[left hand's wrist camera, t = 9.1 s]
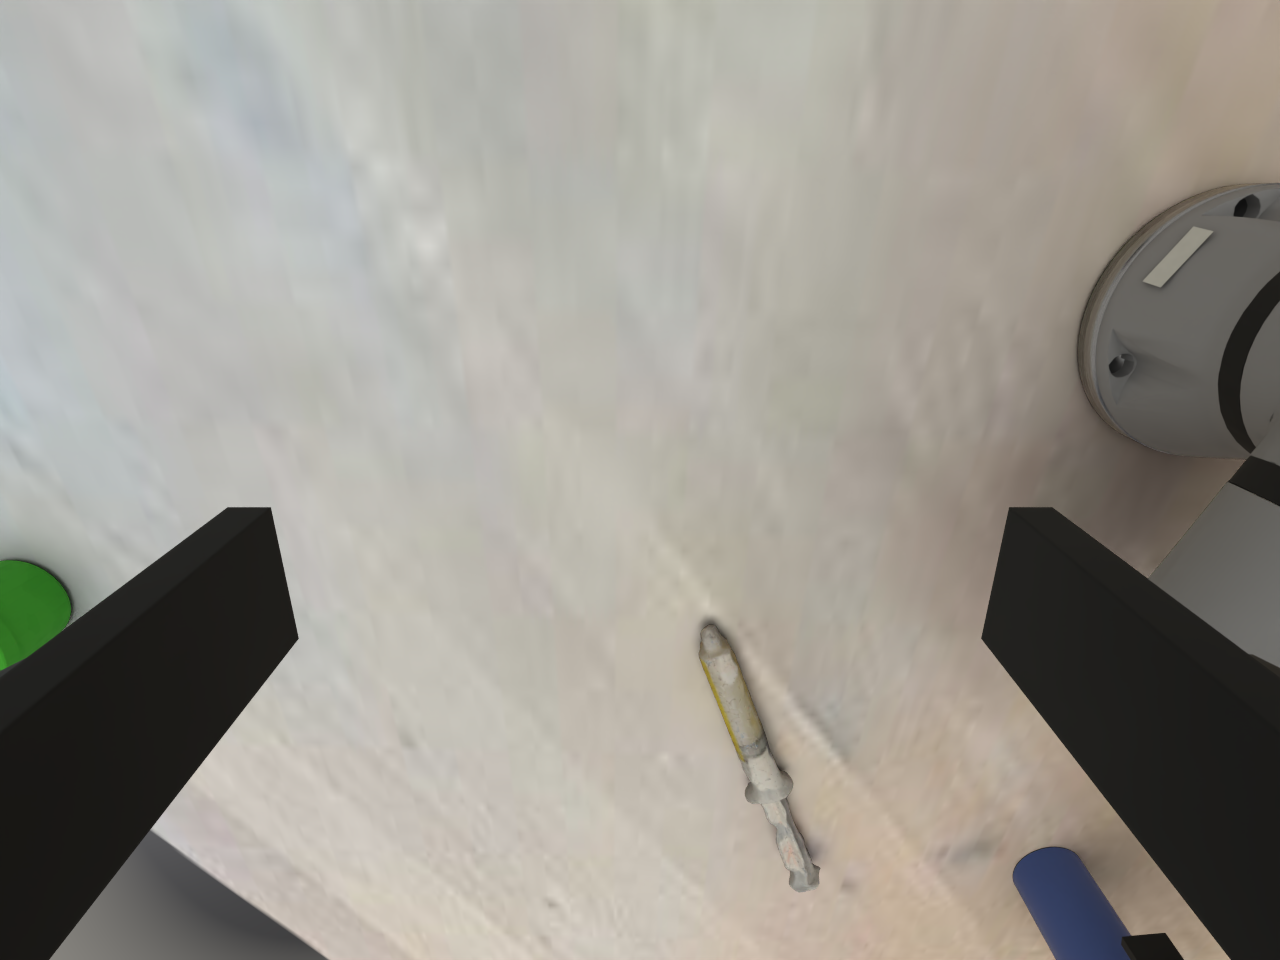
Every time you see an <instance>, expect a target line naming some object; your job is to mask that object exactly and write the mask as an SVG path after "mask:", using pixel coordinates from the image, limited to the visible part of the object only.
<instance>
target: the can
mask: <svg viewBox="0 0 1280 960" xmlns="http://www.w3.org/2000/svg"><path fill="white" fill-rule="evenodd" d="M1013 881H1014V884H1015V886H1016V888H1017V889H1018V891H1019V893H1020V895H1021V897H1022V899H1023V900H1024V902H1025V904H1026V906H1027V908H1028V910H1029V911H1030V913H1031V915H1032V917H1033V919H1034V921H1035V922H1036V924H1037V926H1038V928H1039V930H1040V932H1041V933H1042V935H1043V937H1044V939H1045V941H1046V942H1047V944H1048V946H1049V948H1050V950H1051V952H1052V953H1053V955H1054V957H1055V959H1056V960H1130V958H1129V956H1128V955H1127V953H1126V952H1125V950H1124V948H1123V947H1122V945H1121V941H1122V937H1124V936H1131V934H1130V933H1129V931H1128V930H1127V928H1126V927H1125V925H1124V924H1123V922H1122V921H1121V919H1120V918H1119V917H1118V915H1117V914H1116V912H1115V911H1114V909H1113V908H1112V906H1111V905H1110V903H1109V902H1108V900H1107V899H1106V897H1105V896H1104V894H1103V893H1102V891H1101V890H1100V888H1099V887H1098V885H1097V884H1096V882H1095V881H1094V879H1093V878H1092V876H1091V875H1090V873H1089V872H1088V870H1087V869H1086V867H1085V866H1084V864H1083V863H1082V861H1081V860H1080V858H1079V857H1078V856H1077V855H1076V854H1075V853H1074V852H1072V851H1070V850H1068V849H1065V848H1059V847H1049V848H1044V849H1040V850H1037V851H1034V852H1032V853H1030V854H1028V855H1027V856H1025V857H1024V858H1023V859H1022V860H1021V861H1020V862H1019V863H1018V864H1017V865H1016V867H1015V869H1014V872H1013Z"/></svg>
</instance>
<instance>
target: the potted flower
mask: <svg viewBox="0 0 1280 960" xmlns="http://www.w3.org/2000/svg"><path fill="white" fill-rule="evenodd" d="M70 614H71V604H70V601H69V597H68V595H67V593H66V591H65V590H64V588H63V587H62V585H61V584H60V583H59V582H58V581H57V580H56V579H55V578H54V577H53V576H52V575H50V574H49V573H48V572H46V571H45V570H43V569H41V568H39V567H37V566H35V565H32V564H30V563H26V562H22V561H14V560H5V561H0V671H1V670H3V669H5V668H7V667H9V666H11V665H13V664H15V663H17V662H19V661H21V660H23V659H25V658H27V657H28V656H29V655H31V654H32V653H34V652H35V651H36V650H38V649H39V648H40V647H42V646H43V645H44V644H46V643H47V642H48V641H50V640H51V639H52V638H54V637H55V636H56V635H58V634H59V633H60V632H61V631H62V630H63V629H64V628H65V627H66V625H67V623H68V622H69V619H70Z"/></svg>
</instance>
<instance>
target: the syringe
mask: <svg viewBox="0 0 1280 960" xmlns="http://www.w3.org/2000/svg"><path fill="white" fill-rule="evenodd" d="M701 639H702V641H701V643H700V651H699V658H700V661H701V663H702V666H703V669H704V671H705V674H706V676H707V679H708V681H709V684H710V686H711V689H712V691H713V694H714V696H715V698H716V701H717V703H718V706H719V708H720V711H721V713H722V716H723V718H724V721H725V724H726V726H727V728H728V731H729V734H730V736H731V738H732V741H733V744H734V746H735V748H736V751H737V754H738V757H739V759H740V761H741V763H742V767H743V770H744V772H745V773H746V775H747V777H748V778H749V780H750V781H751V782H750V783H748V786H747V788H746V789H745V797H746V799H747V801H748V802H750V803H752V804H761V805H762V807H763V809H764V812H765V814H766V818H767V820H768V821H769V823H770V824H772V825H774V826H775V827H776V828H777V835H776V843H777V846H778V849H779V852H780V854H781V857H782V859H783V861H784V865H785V867H786V869H788V870H790V878H789V885H790V886H791V887H792V888H793V889H794V890H796V891H797V892H805V891H810V890H814V889H816V888H817V887H818V885H819V870H820V867H818V866H816V865H814V864H813V863H812V860H811V857H810V855H809V853H808V850H807V849H806V847H805V845H804V838H803V836H802V835H801V833H800V832H799V831H798V830H797V828H796V825H795V823H794V821H793V819H792V816H791V813H790V809H789V805H788V801H787V799H786V797H787V796H788V795H789V794H790V792H791V790H792V788H793V781H792V779H791V777H790V776H789V775H788V774H787V772H785V771H780V770H779V769H778V767H777V765H776V762H775V760H774V758H773V755H772V753H771V751H770V749H769V746H768V742H767V738H766V735H765V732H764V730H763V727H762V724H761V722H760V720H759V718H758V715H757V712H756V710H755V708H754V705H753V702H752V700H751V697H750V694H749V691H748V689H747V687H746V684H745V681H744V679H743V676H742V673H741V670H740V667H739V664H738V662H737V659H736V656H735V654H734V652H733V651H732V649H731V647H730V646H729V644H728V642H727V639H726V638H724V637H723V636H721V634H720V633H719V631H718V629H717V627H716V626H715V625H708V626H706V627H705V628H704V629H703V630H702V631H701Z"/></svg>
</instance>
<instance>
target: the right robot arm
mask: <svg viewBox="0 0 1280 960" xmlns="http://www.w3.org/2000/svg"><path fill="white" fill-rule="evenodd" d="M1121 945H1122V947H1123V948H1124V950H1125V952H1126V953H1127V955H1128V956H1129V958H1130V960H1184V959H1183V958H1182V956H1181V955H1180V953H1179V952H1178V951H1177V949H1176V948H1175V946H1174V945H1173V943H1172V942H1171V941H1170V939H1169V938H1168V936H1167V935H1166V933H1159V934H1147V935H1136V936H1124V937H1122V941H1121Z"/></svg>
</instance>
